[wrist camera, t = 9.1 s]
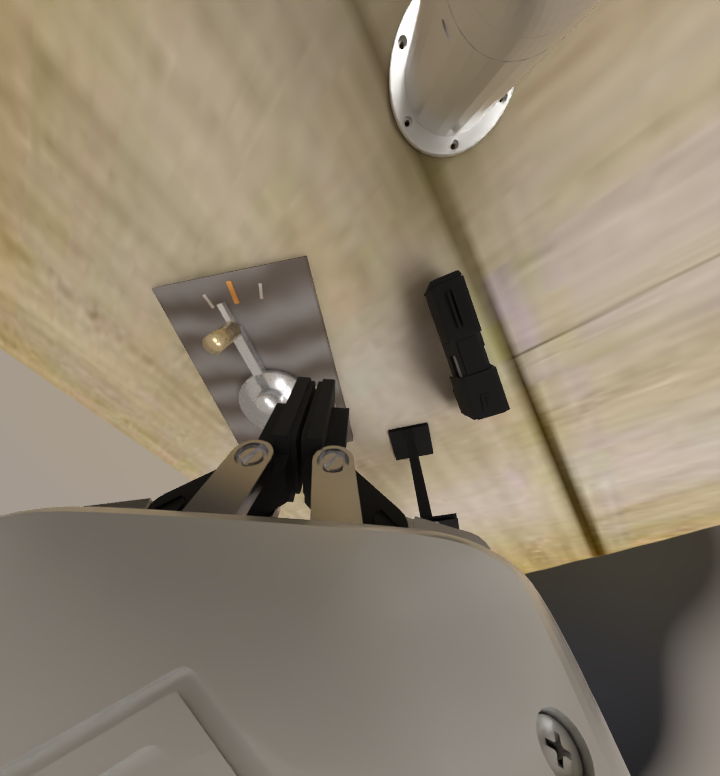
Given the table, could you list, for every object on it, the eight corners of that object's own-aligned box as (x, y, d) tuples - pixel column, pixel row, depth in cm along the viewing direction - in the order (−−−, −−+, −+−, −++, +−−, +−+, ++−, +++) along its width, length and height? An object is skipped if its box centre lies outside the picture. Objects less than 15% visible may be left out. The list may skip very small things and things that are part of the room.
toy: (456, 415, 46) (477, 444, 31) (418, 305, 45) (422, 283, 30) (487, 405, 45) (524, 431, 30) (448, 293, 44) (468, 263, 29)
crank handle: (322, 419, 47) (316, 447, 41) (262, 433, 49) (248, 462, 43) (261, 288, 36) (239, 301, 30) (187, 314, 38) (151, 330, 32)
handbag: (433, 455, 54) (495, 663, 28) (397, 462, 55) (424, 667, 29) (426, 415, 48) (493, 626, 23) (386, 423, 50) (407, 632, 24)
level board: (159, 286, 38) (138, 292, 34) (306, 255, 35) (300, 258, 32) (247, 449, 54) (239, 463, 50) (353, 435, 51) (352, 450, 48)
